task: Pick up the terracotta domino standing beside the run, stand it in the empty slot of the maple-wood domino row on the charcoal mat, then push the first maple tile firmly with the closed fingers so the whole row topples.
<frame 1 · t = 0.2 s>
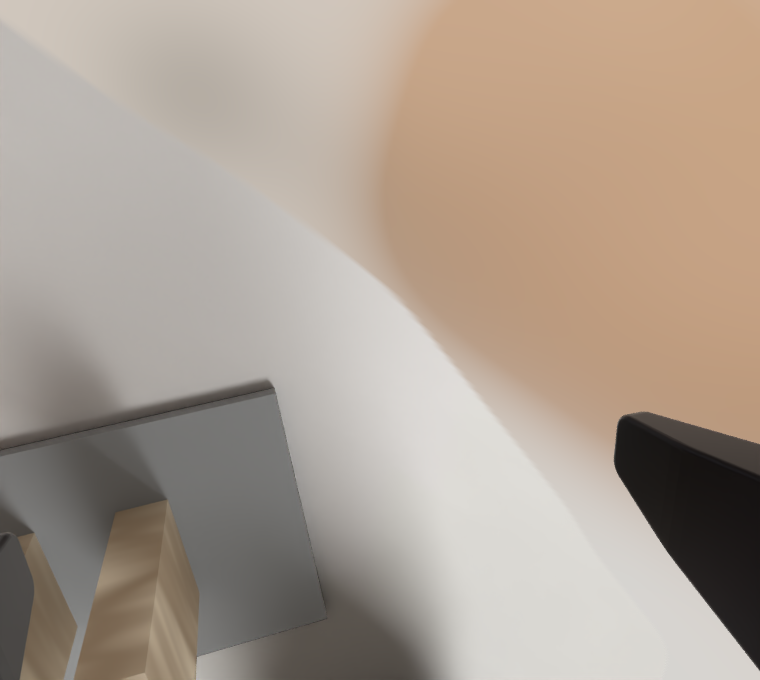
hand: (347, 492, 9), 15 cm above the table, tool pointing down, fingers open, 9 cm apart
domino 1: (159, 554, 25), resting on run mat
domino 2: (30, 588, 24), resting on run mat
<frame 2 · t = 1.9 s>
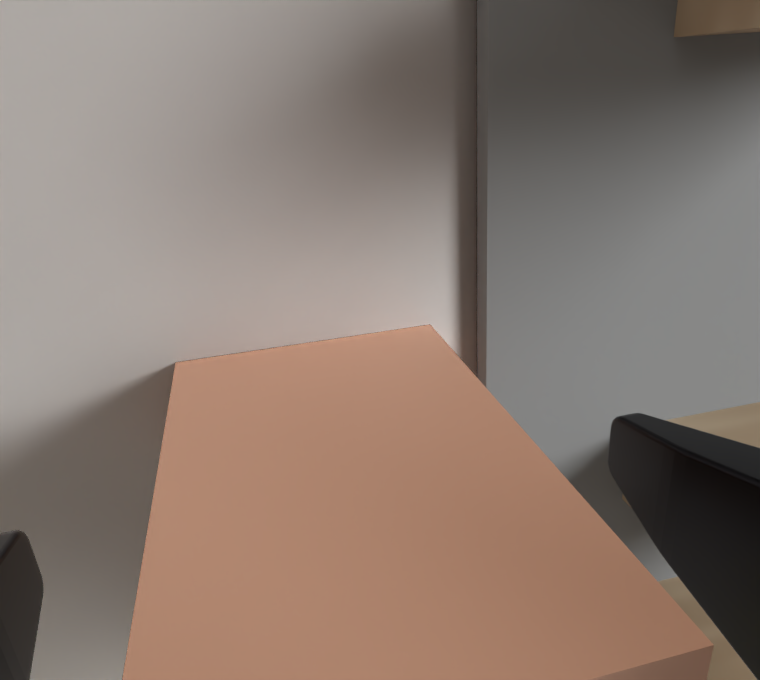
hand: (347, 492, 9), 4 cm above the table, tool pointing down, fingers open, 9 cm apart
domino 4: (718, 444, 15), resting on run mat, touching gripper
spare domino: (313, 388, 12), on the table
domino 5: (690, 600, 17), resting on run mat
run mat: (736, 236, 13), on the table
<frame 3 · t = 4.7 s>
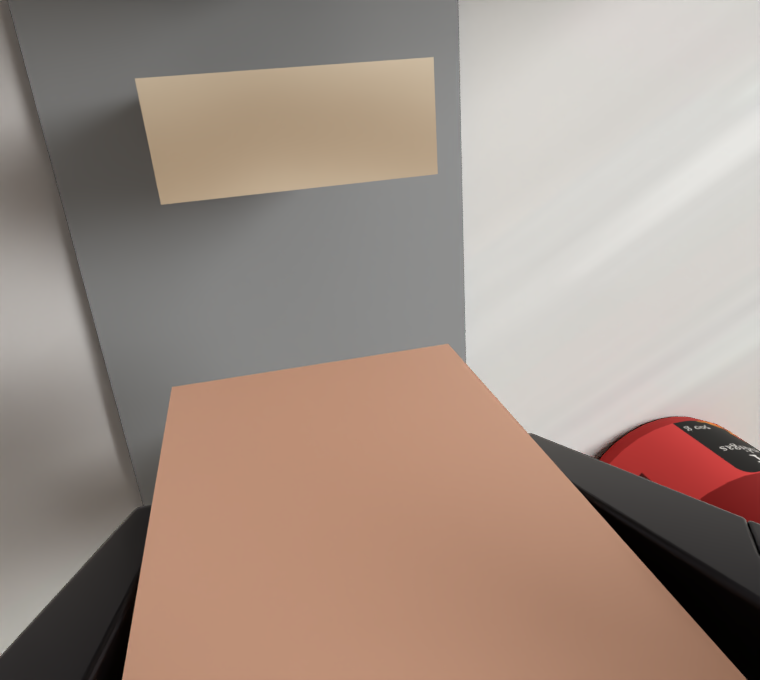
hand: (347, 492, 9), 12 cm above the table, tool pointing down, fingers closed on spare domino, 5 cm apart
canned food: (649, 483, 28), on the table
domino 2: (265, 116, 18), resting on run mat
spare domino: (321, 413, 11), point 10 cm above the table, touching gripper
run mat: (286, 277, 20), on the table
when the fingers open (4 cm above the table, at t = 7.1 s): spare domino stays where it is, resting on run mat.
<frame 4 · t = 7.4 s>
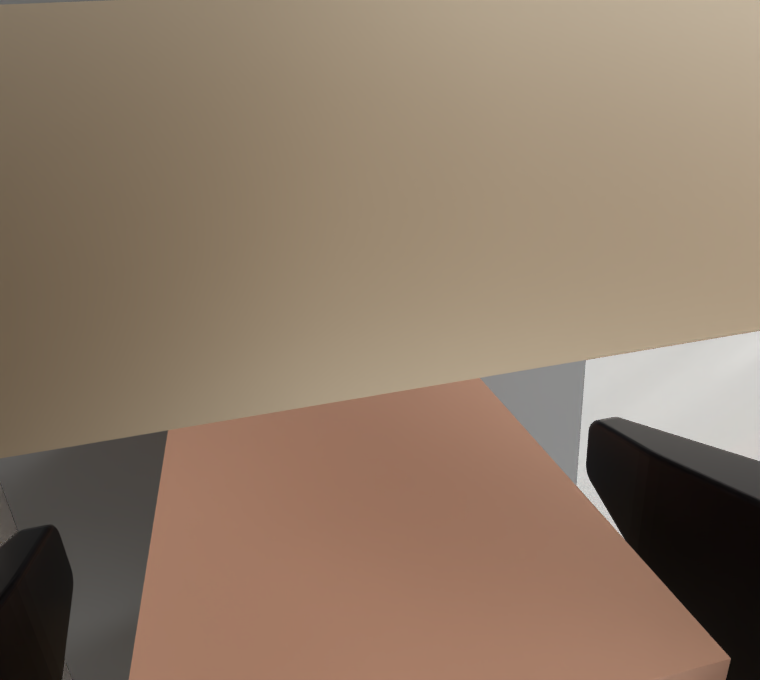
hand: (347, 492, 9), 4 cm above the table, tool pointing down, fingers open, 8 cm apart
domino 2: (283, 126, 10), resting on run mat
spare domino: (316, 390, 12), resting on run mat
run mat: (311, 379, 13), on the table
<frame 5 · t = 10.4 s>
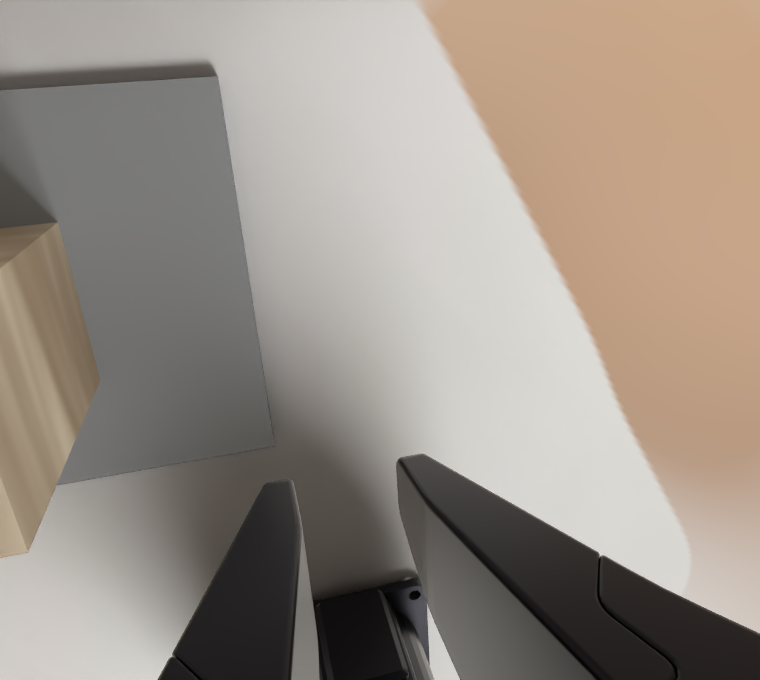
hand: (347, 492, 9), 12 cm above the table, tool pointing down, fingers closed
domino 1: (44, 309, 18), resting on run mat
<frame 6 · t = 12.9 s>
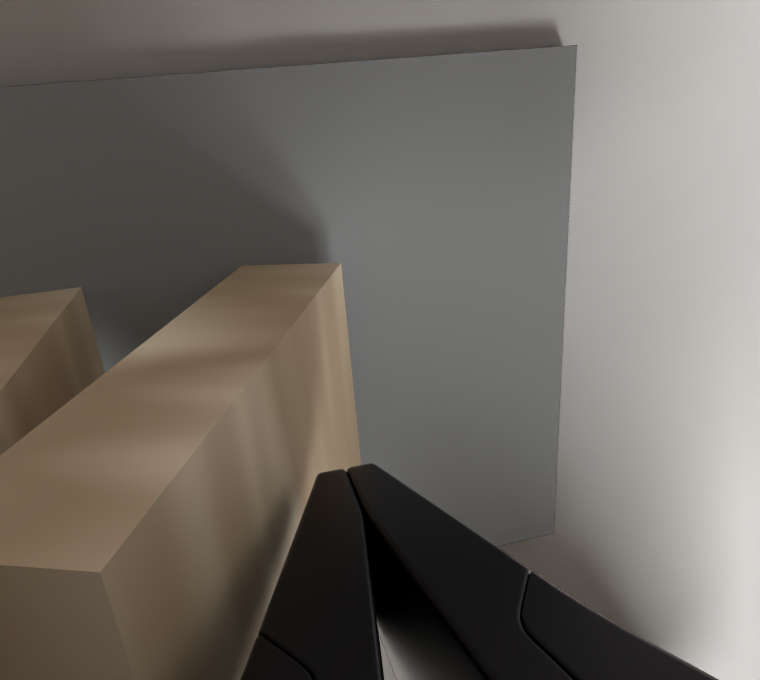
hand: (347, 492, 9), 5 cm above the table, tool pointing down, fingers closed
domino 1: (306, 379, 13), point 1 cm above the table, tilted 23°, touching domino 2, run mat
domino 2: (61, 412, 12), point 1 cm above the table, touching domino 1, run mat
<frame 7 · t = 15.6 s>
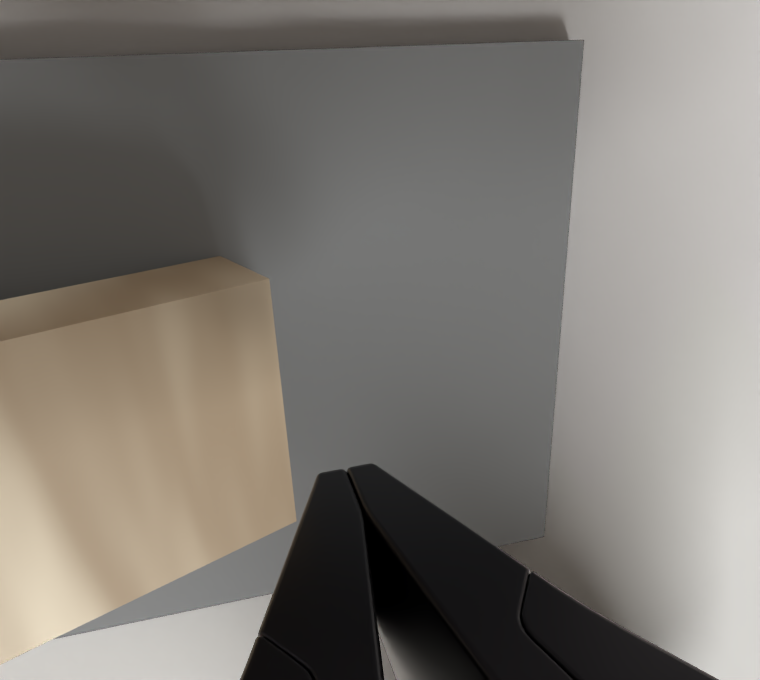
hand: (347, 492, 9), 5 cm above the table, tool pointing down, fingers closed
domino 1: (259, 391, 12), point 1 cm above the table, tilted 67°, touching domino 2, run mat
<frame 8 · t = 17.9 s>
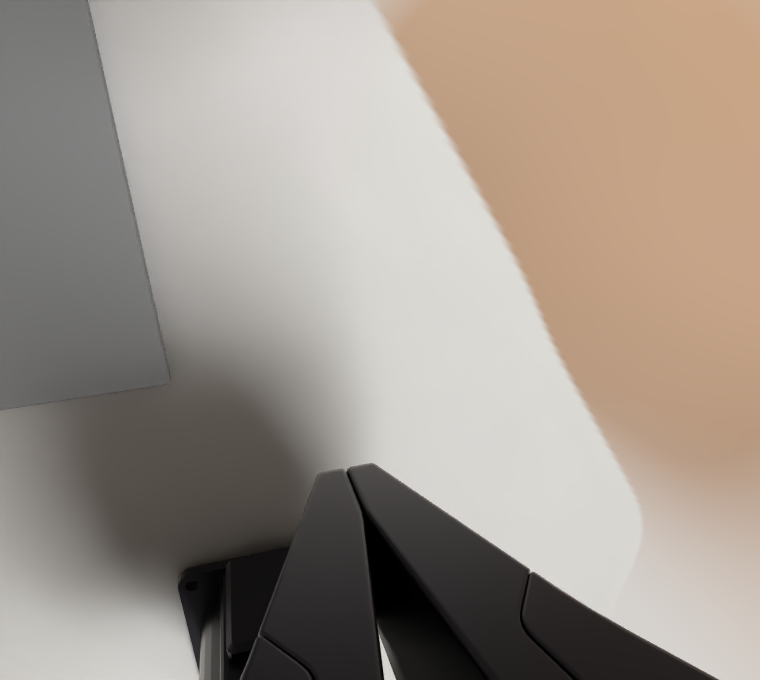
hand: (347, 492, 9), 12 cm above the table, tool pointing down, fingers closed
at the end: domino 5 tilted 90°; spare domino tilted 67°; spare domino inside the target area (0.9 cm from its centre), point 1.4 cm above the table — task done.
